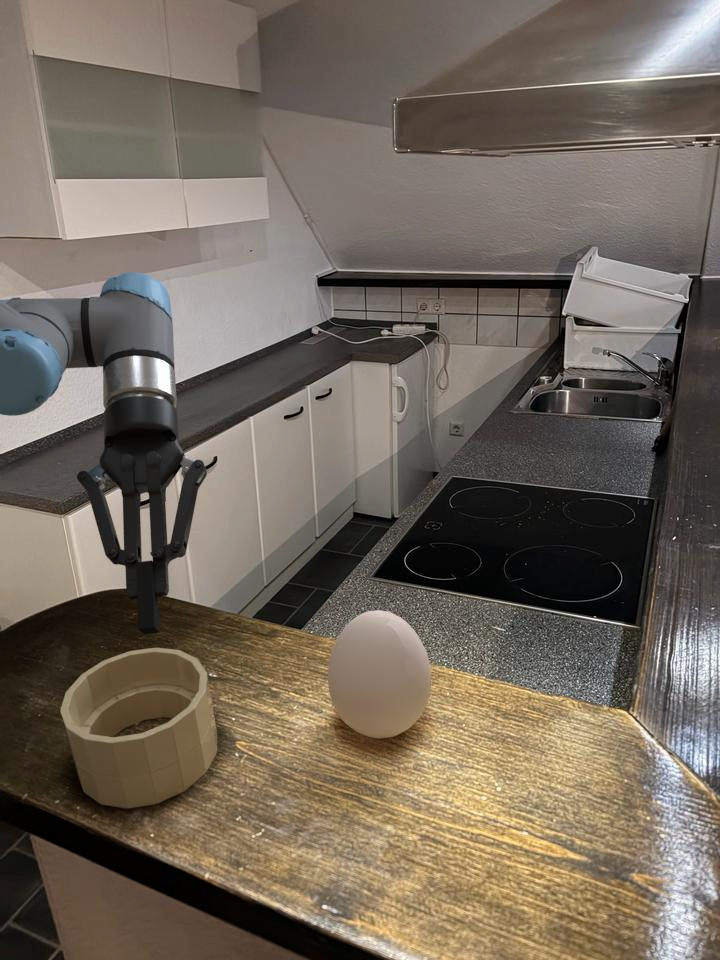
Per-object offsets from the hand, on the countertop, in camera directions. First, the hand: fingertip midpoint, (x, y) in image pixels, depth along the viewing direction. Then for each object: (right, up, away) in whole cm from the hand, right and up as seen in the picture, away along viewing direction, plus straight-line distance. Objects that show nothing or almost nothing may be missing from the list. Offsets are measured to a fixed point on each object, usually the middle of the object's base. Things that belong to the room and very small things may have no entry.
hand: (149, 630), depth 73 cm
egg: (+22, -7, -6) cm, 24 cm away
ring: (+3, -9, -9) cm, 13 cm away
